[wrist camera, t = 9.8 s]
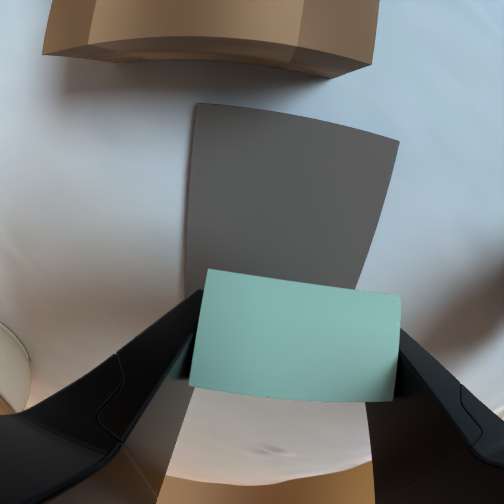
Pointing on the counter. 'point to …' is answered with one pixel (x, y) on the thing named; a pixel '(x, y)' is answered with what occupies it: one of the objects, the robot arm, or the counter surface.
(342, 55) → the pocket board
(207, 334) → the teal slab
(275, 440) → the counter surface
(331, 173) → the rubber mat
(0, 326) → the lidded jar
